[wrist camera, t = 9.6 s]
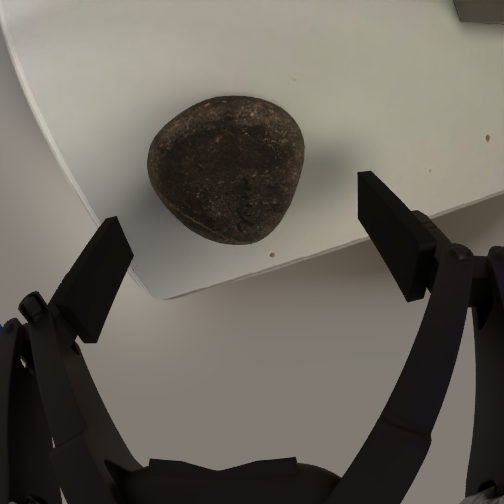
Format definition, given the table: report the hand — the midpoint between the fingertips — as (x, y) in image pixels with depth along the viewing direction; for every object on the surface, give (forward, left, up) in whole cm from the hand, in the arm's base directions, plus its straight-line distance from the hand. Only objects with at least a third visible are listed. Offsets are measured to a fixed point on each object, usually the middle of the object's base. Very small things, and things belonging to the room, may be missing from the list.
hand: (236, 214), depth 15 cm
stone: (0, 0, -9) cm, 9 cm away
